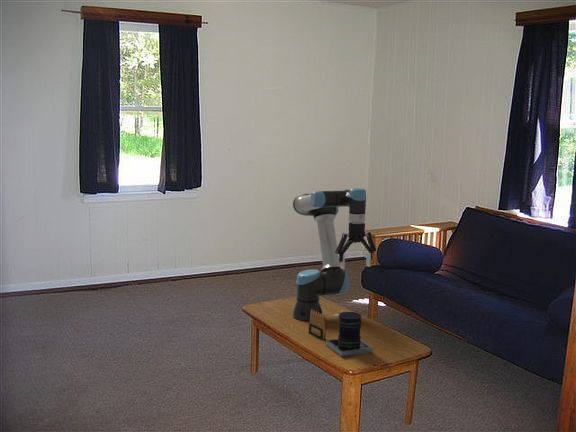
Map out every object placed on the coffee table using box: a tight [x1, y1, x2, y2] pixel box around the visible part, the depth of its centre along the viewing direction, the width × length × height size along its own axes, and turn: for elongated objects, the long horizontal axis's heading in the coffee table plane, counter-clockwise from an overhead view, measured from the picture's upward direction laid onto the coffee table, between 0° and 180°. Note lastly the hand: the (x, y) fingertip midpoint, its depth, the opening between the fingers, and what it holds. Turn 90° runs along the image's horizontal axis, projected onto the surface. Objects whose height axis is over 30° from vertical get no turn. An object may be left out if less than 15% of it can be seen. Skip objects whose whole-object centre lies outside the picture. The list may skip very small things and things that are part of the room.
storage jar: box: [337, 311, 362, 351], centre depth 289 cm, size 10×10×15 cm
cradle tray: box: [325, 338, 373, 358], centre depth 290 cm, size 15×15×2 cm
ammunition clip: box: [308, 309, 326, 341], centre depth 305 cm, size 11×2×12 cm, turn 35°
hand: (355, 267), depth 306 cm, fingers open, 13 cm apart
